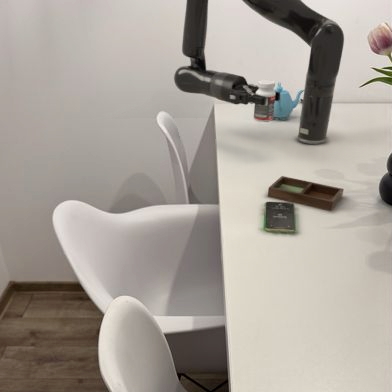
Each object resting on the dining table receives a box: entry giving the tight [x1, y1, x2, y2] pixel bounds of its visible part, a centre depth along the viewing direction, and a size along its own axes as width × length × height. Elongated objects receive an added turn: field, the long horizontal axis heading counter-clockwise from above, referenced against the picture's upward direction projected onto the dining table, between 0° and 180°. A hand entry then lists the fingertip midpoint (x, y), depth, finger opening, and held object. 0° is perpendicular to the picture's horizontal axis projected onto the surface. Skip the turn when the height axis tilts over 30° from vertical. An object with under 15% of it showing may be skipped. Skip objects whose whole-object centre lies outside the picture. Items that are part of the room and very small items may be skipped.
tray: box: [267, 175, 345, 212], centre depth 127 cm, size 9×17×2 cm, turn 60°
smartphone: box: [263, 201, 297, 234], centre depth 118 cm, size 8×1×15 cm
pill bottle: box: [253, 79, 276, 123], centre depth 138 cm, size 6×6×10 cm
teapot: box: [273, 81, 304, 121], centre depth 178 cm, size 13×13×10 cm
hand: (272, 99), depth 136 cm, fingers closed on pill bottle, 5 cm apart
